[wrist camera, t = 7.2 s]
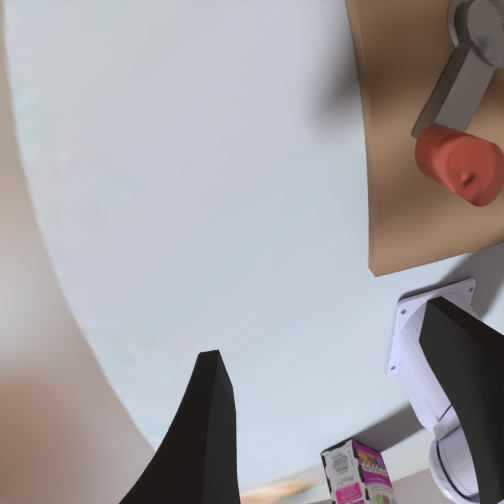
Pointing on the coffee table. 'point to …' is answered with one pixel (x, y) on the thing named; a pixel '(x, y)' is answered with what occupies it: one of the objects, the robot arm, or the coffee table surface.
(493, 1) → the lever
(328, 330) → the coffee table surface
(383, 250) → the board
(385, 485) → the candy bar box
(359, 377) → the coffee table surface
